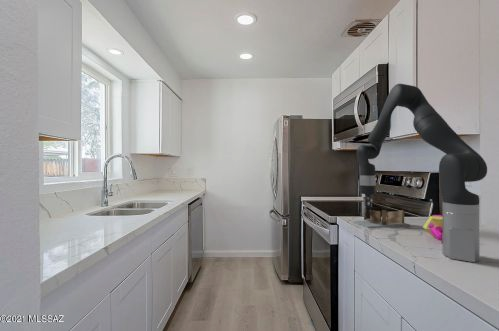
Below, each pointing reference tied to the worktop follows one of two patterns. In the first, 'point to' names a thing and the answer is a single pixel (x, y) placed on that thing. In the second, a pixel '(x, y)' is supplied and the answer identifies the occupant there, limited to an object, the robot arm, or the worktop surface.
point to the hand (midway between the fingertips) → (367, 218)
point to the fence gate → (374, 216)
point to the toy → (435, 226)
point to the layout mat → (379, 224)
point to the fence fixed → (393, 217)
